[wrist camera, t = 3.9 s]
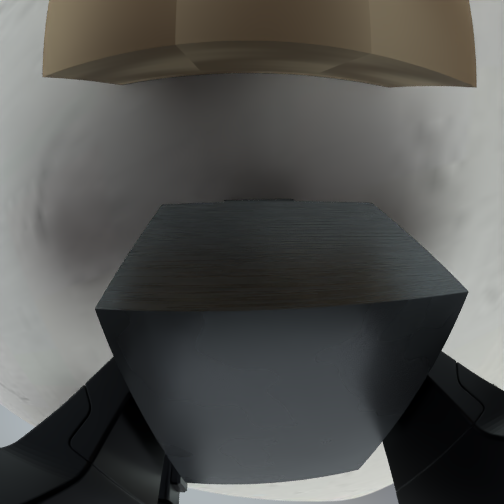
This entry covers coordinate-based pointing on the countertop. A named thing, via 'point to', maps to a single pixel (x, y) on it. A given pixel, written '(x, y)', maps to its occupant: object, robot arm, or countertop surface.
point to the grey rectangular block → (275, 334)
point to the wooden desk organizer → (262, 40)
